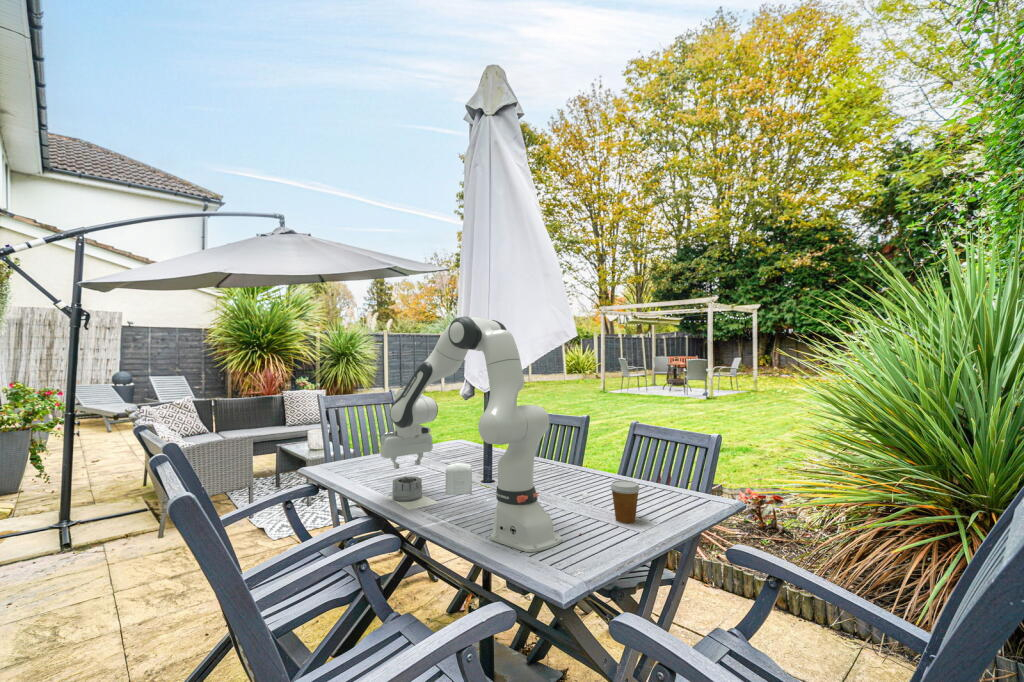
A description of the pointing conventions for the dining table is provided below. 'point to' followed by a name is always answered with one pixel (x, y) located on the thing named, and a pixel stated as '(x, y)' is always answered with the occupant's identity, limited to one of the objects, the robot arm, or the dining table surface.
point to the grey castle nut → (407, 490)
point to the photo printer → (459, 479)
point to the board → (416, 502)
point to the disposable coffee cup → (625, 500)
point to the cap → (407, 479)
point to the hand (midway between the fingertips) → (407, 466)
